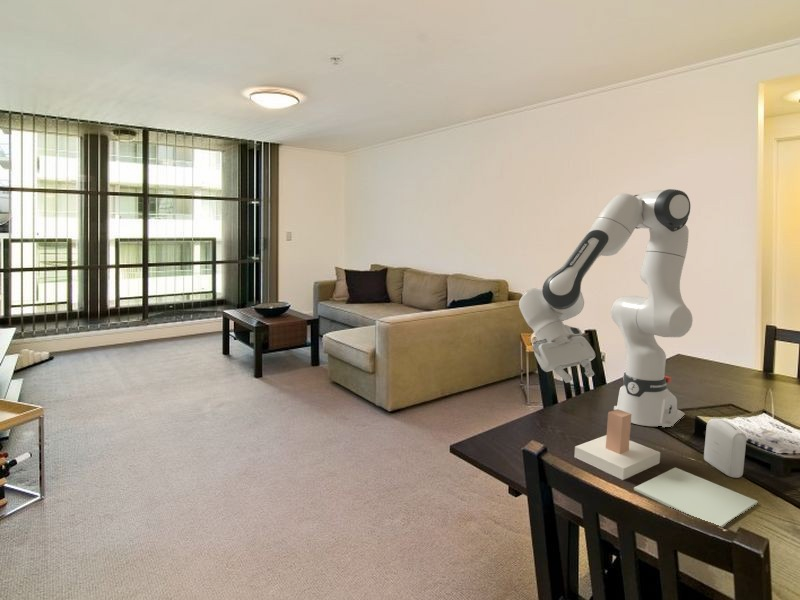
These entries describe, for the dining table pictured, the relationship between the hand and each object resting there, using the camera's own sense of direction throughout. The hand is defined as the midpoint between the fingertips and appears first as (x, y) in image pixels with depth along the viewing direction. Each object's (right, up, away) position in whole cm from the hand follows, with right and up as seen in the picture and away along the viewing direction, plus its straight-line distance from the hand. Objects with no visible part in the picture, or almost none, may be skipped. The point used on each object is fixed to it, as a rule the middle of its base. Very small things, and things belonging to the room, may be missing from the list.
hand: (580, 378), depth 134 cm
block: (+7, -17, -8) cm, 20 cm away
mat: (+16, -23, -25) cm, 37 cm away
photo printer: (+32, -21, -12) cm, 40 cm away
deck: (+7, -20, -8) cm, 23 cm away
